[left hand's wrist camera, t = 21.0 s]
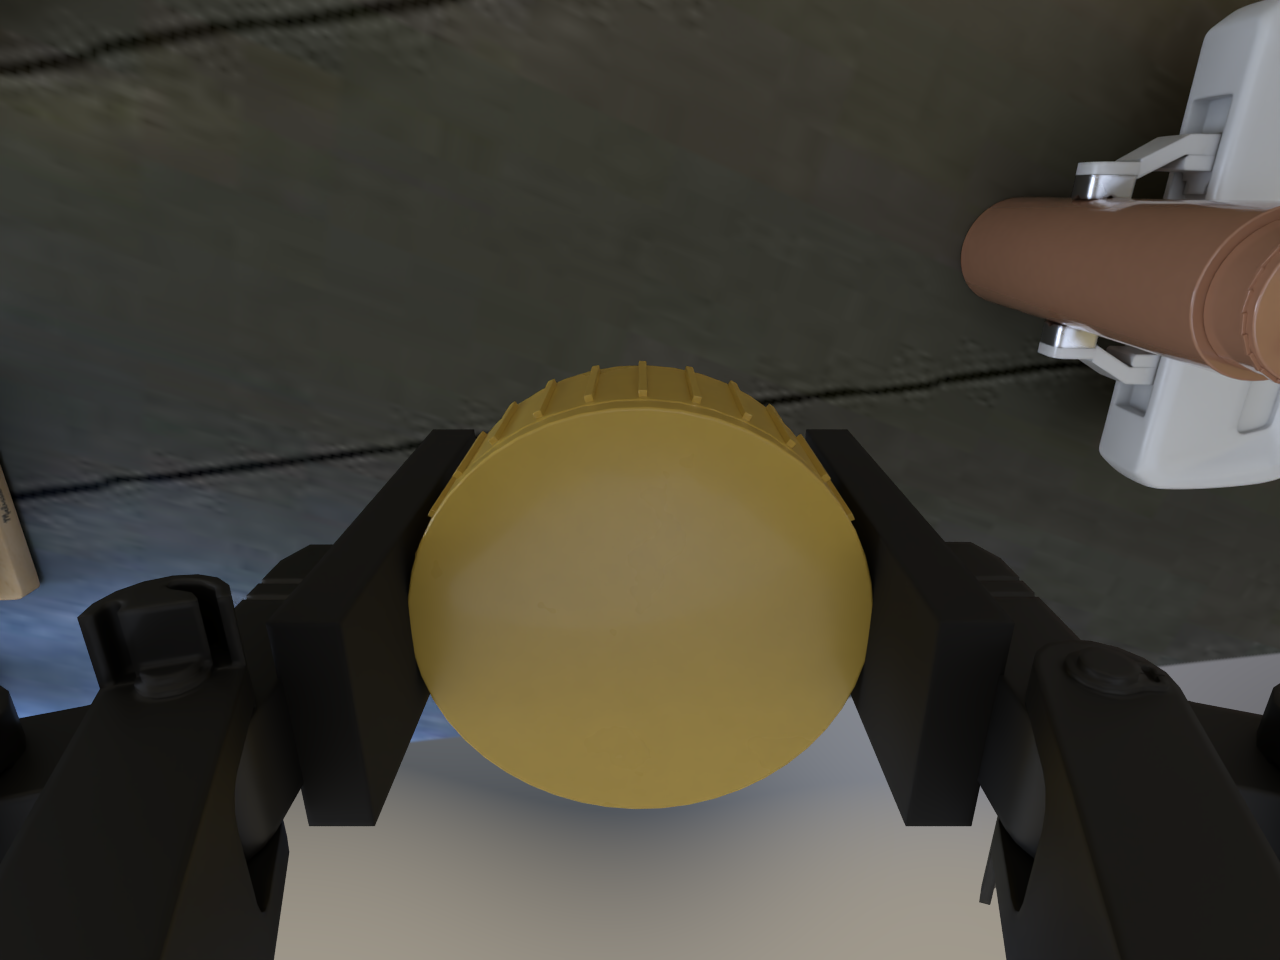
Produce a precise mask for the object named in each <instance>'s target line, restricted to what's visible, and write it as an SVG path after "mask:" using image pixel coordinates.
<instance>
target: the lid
mask: <svg viewBox="0 0 1280 960" xmlns="http://www.w3.org/2000/svg"><path fill="white" fill-rule="evenodd" d="M830 479H831V478H830V476H829V475H828V473H827V472H826V470H825V469H824V467H823V466H822V464H821V463H820V461H819V460H818V458H817V457H816V455H815V454H814V452H813V451H812V449H811V448H810V446H809V445H808V443H807V442H806V440H805V439H804V437H803V436H802V435H801V434H800V435H799V436H797V437H796V436H795V435H794V434H793V433H792V431H791V430H790V429H789V428H788V427H787V426H786V425H785V424H784V423H783V421H782V419H781V418H780V416H779V415H778V413H777V411H776V410H775V408H774V407H773V406H772V405H770V404H769V405H768V406H767V407H765V406H763V405H762V404H760V403H759V402H758V401H756V400H755V399H753V398H752V397H751V396H749V395H747V394H745V393H743V392H742V391H740V390H739V388H738V386H737V384H736V383H735V382H733V381H730V382H729V384H726V383H724V382H721V381H718V380H716V379H713V378H710V377H708V376H705V375H702V374H699V373H694V370H693V367H688V366H686V368H685V370H681V369H677V368H670V367H659V366H648V365H646V361H639V366H618V367H612V368H606V369H600V367H599V365H597V366H592V369H591V371H590V372H586V373H583V374H580V375H577V376H573V377H570V378H567V379H564V380H562V381H560V382H558V383H556V381H555V379H553V380H550V381H548V383H547V385H546V387H545V389H542V390H540V391H539V392H537V393H536V394H534V395H532V396H531V397H529V398H528V399H526V400H525V401H523V402H521V403H520V404H517V403H516V402H513V403H512V404H511V405H510V406H509V407H508V409H507V410H506V412H505V414H504V415H503V417H502V419H501V420H499V421H498V423H497V424H496V425H495V426H494V427H493V428H492V429H491V430H490V432H489V433H488V434H486V433H485V432H483V431H482V432H481V434H480V435H479V436H478V438H477V439H476V441H475V442H474V444H473V445H472V447H471V448H470V450H469V451H468V453H467V454H466V456H465V457H464V459H463V460H462V462H461V463H460V465H459V466H458V468H457V469H456V471H455V472H454V474H453V476H452V478H451V479H450V481H449V482H448V484H447V485H446V487H445V488H444V490H443V491H442V493H441V494H440V496H439V498H438V499H437V501H436V502H435V504H434V505H433V507H432V508H431V510H430V512H429V514H428V516H429V517H432V518H431V520H430V522H429V524H428V526H427V529H426V531H425V533H424V535H423V537H422V539H421V542H420V544H419V546H418V549H417V551H416V552H415V560H414V563H413V567H412V570H411V577H410V584H409V592H408V607H409V615H410V624H411V632H412V639H413V646H414V653H415V658H416V661H417V664H418V667H419V670H420V673H421V676H422V678H423V680H424V682H425V684H426V686H427V688H428V690H429V692H430V694H431V696H432V698H433V700H434V701H435V703H436V704H437V706H438V707H439V709H440V710H441V712H442V713H443V715H444V716H445V717H446V719H447V720H448V722H449V723H450V724H451V725H452V726H453V727H454V728H455V729H456V731H457V732H458V733H459V734H460V735H461V736H462V737H463V738H464V740H465V741H467V742H468V743H469V744H470V745H471V746H472V747H473V748H475V749H476V750H477V751H478V752H479V753H480V754H481V755H483V756H484V757H485V758H486V759H488V760H489V761H491V762H492V763H494V764H495V765H497V766H498V767H499V768H501V769H502V770H504V771H505V772H507V773H509V774H510V775H512V776H514V777H516V778H518V779H520V780H522V781H524V782H525V783H527V784H529V785H531V786H534V787H536V788H539V789H542V790H544V791H546V792H549V793H551V794H554V795H557V796H560V797H564V798H568V799H571V800H575V801H578V802H582V803H588V804H594V805H599V806H605V807H615V808H629V809H648V808H666V807H674V806H682V805H689V804H694V803H698V802H702V801H706V800H710V799H715V798H718V797H721V796H723V795H726V794H729V793H732V792H735V791H738V790H740V789H743V788H745V787H747V786H749V785H751V784H753V783H755V782H757V781H759V780H762V779H764V778H766V777H767V776H769V775H770V774H772V773H774V772H775V771H777V770H778V769H780V768H782V767H783V766H785V765H787V764H788V763H789V762H790V761H792V760H793V759H794V758H796V757H797V756H798V755H799V754H801V753H802V752H803V751H804V750H806V749H807V748H808V747H809V746H810V745H811V744H812V743H813V742H814V741H815V740H816V739H817V738H818V737H819V736H820V735H821V734H822V733H823V732H824V731H825V730H826V729H827V728H828V726H829V725H830V724H831V722H832V721H833V720H834V718H835V717H836V716H837V715H838V713H839V712H840V711H841V709H842V708H843V706H844V704H845V703H846V701H847V699H848V697H849V696H850V694H851V692H852V690H853V689H854V687H855V685H856V682H857V680H858V677H859V675H860V672H861V670H862V667H863V665H864V662H865V657H866V650H867V644H868V636H869V629H870V621H871V613H872V604H873V595H872V582H871V577H870V573H869V568H868V564H867V559H866V555H865V553H864V550H863V548H862V545H861V543H860V540H859V537H858V535H857V532H856V530H855V528H854V526H853V525H852V523H851V521H853V520H855V519H854V516H853V514H852V512H851V511H850V509H849V508H848V506H847V505H846V503H845V502H844V500H843V499H842V497H841V496H840V494H839V493H838V491H837V489H836V488H835V486H834V485H833V483H832V482H831V480H830Z"/></svg>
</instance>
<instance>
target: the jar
mask: <svg viewBox="0 0 1280 960" xmlns="http://www.w3.org/2000/svg"><path fill="white" fill-rule="evenodd" d="M961 268H962V273H963V276H964V279H965V281H966V283H967V284H968V286H969V287H970V289H971V290H972V291H973V292H974V293H975V294H976V295H978V296H979V297H981V298H982V299H984V300H987V301H989V302H992V303H995V304H998V305H1002V306H1005V307H1008V308H1011V309H1014V310H1017V311H1021V312H1024V313H1027V314H1030V315H1033V316H1036V317H1040V318H1043V319H1046V320H1049V321H1052V322H1055V323H1058V324H1062V325H1065V326H1068V327H1071V328H1074V329H1077V330H1081V331H1084V332H1087V333H1090V334H1093V335H1096V336H1099V337H1103V338H1106V339H1109V340H1112V341H1115V342H1118V343H1122V344H1125V345H1128V346H1131V347H1134V348H1137V349H1140V350H1144V351H1147V352H1150V353H1153V354H1156V355H1159V356H1163V357H1166V358H1169V359H1172V360H1175V361H1178V362H1182V363H1185V364H1188V365H1191V366H1194V367H1197V368H1200V369H1204V370H1207V371H1210V372H1213V373H1216V374H1219V375H1223V376H1226V377H1229V378H1232V379H1237V380H1242V381H1265V380H1270V381H1272V382H1274V383H1278V384H1280V201H1270V200H1204V199H1138V198H1102V199H1072V198H1071V197H1014V198H1009V199H1006V200H1003V201H1001V202H998V203H996V204H995V205H993V206H991V207H990V208H988V209H987V210H986V211H985V212H983V213H982V214H981V215H980V216H979V217H978V218H977V220H976V221H975V222H974V223H973V225H972V226H971V228H970V229H969V231H968V233H967V235H966V237H965V240H964V243H963V247H962V252H961Z"/></svg>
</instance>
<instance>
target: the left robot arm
mask: <svg viewBox="0 0 1280 960" xmlns="http://www.w3.org/2000/svg"><path fill="white" fill-rule="evenodd" d="M805 440H806V442H807V443H808V445H809V446H810V448H811V449H812V451H813V452H814V454H815V455H816V457H817V458H818V460H819V461H820V463H821V464H822V466H823V467H824V469H825V470H826V472H827V473H828V475H829V476H830V478H831V479H830V480H831V482H832V483H833V485H834V486H835V488H836V489H837V491H838V493H839V494H840V496H841V497H842V499H843V500H844V502H845V503H846V505H847V506H848V508H849V509H850V511H851V512H852V514H853V516H854V519H855V520H853V521H851V523H852V525H853V526H854V528H855V530H856V532H857V535H858V537H859V540H860V543H861V545H862V548H863V550H864V553H865V555H866V559H867V564H868V568H869V573H870V577H871V582H872V595H873V604H872V613H871V621H870V629H869V636H868V644H867V650H866V657H865V662H864V665H863V667H862V670H861V672H860V675H859V677H858V680H857V682H856V685H855V687H854V689H853V690H852V692H851V696H852V699H853V701H854V703H855V706H856V708H857V710H858V713H859V715H860V718H861V720H862V723H863V725H864V727H865V730H866V732H867V734H868V737H869V739H870V742H871V744H872V746H873V749H874V751H875V754H876V756H877V758H878V761H879V763H880V766H881V768H882V770H883V773H884V775H885V778H886V780H887V782H888V785H889V787H890V790H891V792H892V794H893V797H894V799H895V802H896V804H897V806H898V809H899V811H900V813H901V816H902V818H903V821H904V823H905V825H906V826H971V825H972V821H973V816H974V811H975V807H976V802H977V797H978V793H979V788H980V786H981V787H982V789H983V791H984V793H985V794H986V796H987V798H988V800H989V801H990V803H991V805H992V807H993V808H994V810H995V812H996V814H997V815H998V817H997V821H996V826H995V830H994V834H993V839H992V843H991V847H990V852H989V856H988V861H987V865H986V869H985V873H984V878H983V882H982V887H981V894H980V901H979V902H981V903H985V904H988V905H990V903H991V899H992V895H993V890H994V888H995V887H996V890H997V897H998V904H999V911H1000V918H1001V925H1002V932H1003V938H1004V946H1005V952H1006V960H1280V684H1278V685H1277V686H1275V687H1274V688H1273V690H1272V693H1271V695H1270V698H1269V701H1268V704H1267V706H1266V709H1265V711H1264V714H1263V715H1259V714H1254V713H1249V712H1243V711H1238V710H1233V709H1227V708H1222V707H1217V706H1211V705H1206V704H1201V703H1195V702H1191V701H1187V699H1186V697H1185V695H1184V694H1183V692H1182V690H1181V689H1180V687H1179V686H1178V685H1177V684H1176V683H1175V682H1174V681H1173V679H1172V678H1171V677H1170V676H1169V675H1168V674H1167V673H1166V672H1165V671H1163V670H1162V669H1160V668H1159V667H1157V666H1155V665H1154V664H1152V663H1151V662H1149V661H1148V660H1146V659H1144V658H1142V657H1140V656H1137V655H1135V654H1133V653H1130V652H1128V651H1125V650H1123V649H1120V648H1118V647H1114V646H1110V645H1106V644H1102V643H1097V642H1093V641H1085V640H1080V639H1079V638H1078V637H1077V636H1076V635H1075V634H1074V633H1073V632H1072V631H1071V630H1070V629H1069V628H1068V627H1067V626H1066V625H1065V623H1064V622H1063V621H1062V620H1061V619H1060V618H1059V617H1058V616H1057V615H1056V614H1055V613H1054V612H1053V611H1052V610H1051V609H1050V608H1049V607H1048V606H1047V605H1046V604H1045V603H1044V602H1043V601H1042V600H1041V599H1040V598H1039V597H1035V596H1034V592H1033V591H1032V590H1031V589H1030V588H1029V587H1028V586H1027V585H1026V584H1025V583H1024V582H1023V581H1019V577H1018V576H1017V575H1016V574H1015V573H1014V572H1013V570H1012V569H1011V568H1010V567H1009V566H1008V565H1007V564H1006V563H1005V562H1004V561H1003V560H1002V559H1001V558H999V557H997V556H995V555H994V554H992V553H990V552H988V551H986V550H984V549H983V548H981V547H979V546H977V545H975V544H973V543H971V542H944V540H943V539H942V538H941V537H940V536H939V535H938V533H937V532H936V531H935V530H934V529H933V528H932V527H931V525H930V524H929V523H928V522H927V521H926V520H925V519H924V517H923V516H922V515H921V514H920V513H919V512H918V510H917V509H916V508H915V507H914V506H913V505H912V504H911V502H910V501H909V500H908V499H907V498H906V497H905V495H904V494H903V493H902V492H901V491H900V490H899V489H898V487H897V486H896V485H895V484H894V483H893V482H892V480H891V479H890V478H889V477H888V476H887V475H886V474H885V472H884V471H883V470H882V469H881V468H880V467H879V466H878V464H877V463H876V462H875V461H874V460H873V459H872V457H871V456H870V455H869V454H868V453H867V452H866V451H865V449H864V448H863V447H862V446H861V445H860V444H859V442H858V441H857V440H856V439H855V438H854V437H853V436H852V434H851V433H850V432H849V431H848V430H806V439H805ZM474 442H475V433H474V430H432V431H431V433H430V434H429V435H428V436H427V437H426V438H425V440H424V441H423V442H422V443H421V444H420V445H419V446H418V448H417V449H416V450H415V451H414V452H413V453H412V455H411V456H410V457H409V458H408V459H407V460H406V461H405V463H404V464H403V465H402V466H401V467H400V468H399V470H398V471H397V472H396V473H395V474H394V475H393V476H392V478H391V479H390V480H389V481H388V482H387V483H386V485H385V486H384V487H383V488H382V489H381V490H380V491H379V493H378V494H377V495H376V496H375V497H374V498H373V499H372V501H371V502H370V503H369V504H368V505H367V506H366V508H365V509H364V510H363V511H362V512H361V513H360V514H359V516H358V517H357V518H356V519H355V520H354V521H353V523H352V524H351V525H350V526H349V527H348V528H347V529H346V531H345V532H344V533H343V534H342V535H341V536H340V538H339V539H338V540H337V541H336V542H335V543H334V544H333V545H309V546H307V547H305V548H303V549H301V550H299V551H298V552H296V553H294V554H292V555H290V556H288V557H287V558H285V559H283V560H281V561H280V562H279V563H278V564H277V565H276V566H275V567H274V568H273V569H272V570H271V571H270V572H269V573H268V574H267V575H266V576H265V577H264V578H263V579H262V584H258V585H257V586H256V587H255V588H254V589H253V590H252V591H251V592H250V593H249V594H248V595H247V599H246V600H242V601H241V602H240V603H239V604H238V605H237V606H236V607H235V608H234V604H233V600H232V596H231V591H230V587H229V585H228V584H227V583H225V582H224V581H222V580H221V579H219V578H217V577H211V576H205V575H199V574H195V575H176V576H169V577H164V578H159V579H154V580H149V581H144V582H141V583H138V584H135V585H133V586H130V587H127V588H124V589H121V590H118V591H116V592H114V593H112V594H110V595H108V596H106V597H104V598H102V599H101V600H99V601H97V602H95V603H93V604H92V605H91V606H90V607H88V608H87V609H86V610H85V611H84V612H83V613H82V614H81V615H80V616H79V617H77V618H78V622H79V625H80V628H81V631H82V634H83V637H84V640H85V643H86V646H87V650H88V653H89V656H90V659H91V662H92V665H93V668H94V671H95V674H96V678H97V681H98V684H99V687H100V690H99V692H98V693H97V695H96V697H95V699H94V700H93V702H92V704H91V705H87V706H83V707H77V708H72V709H67V710H61V711H56V712H51V713H45V714H40V715H35V716H29V717H24V718H19V717H18V715H17V712H16V710H15V707H14V704H13V702H12V699H11V696H10V694H9V691H8V690H6V689H5V688H3V687H1V686H0V960H274V955H275V948H276V941H277V934H278V927H279V920H280V913H281V906H282V899H283V892H284V885H285V878H286V871H287V864H288V857H289V847H288V840H287V834H286V830H285V826H284V821H283V819H284V817H285V815H286V813H287V812H288V810H289V808H290V806H291V804H292V803H293V801H294V799H295V797H296V796H297V794H298V792H299V790H300V789H301V791H302V795H303V800H304V805H305V809H306V814H307V819H308V823H309V826H375V824H376V822H377V819H378V817H379V815H380V812H381V810H382V807H383V805H384V803H385V800H386V798H387V795H388V793H389V791H390V788H391V786H392V783H393V781H394V779H395V776H396V774H397V772H398V769H399V767H400V764H401V762H402V760H403V757H404V755H405V752H406V750H407V748H408V745H409V743H410V740H411V738H412V736H413V733H414V731H415V728H416V726H417V724H418V721H419V719H420V716H421V714H422V712H423V709H424V707H425V704H426V702H427V700H428V697H429V695H430V692H429V690H428V688H427V686H426V684H425V682H424V680H423V678H422V676H421V673H420V670H419V667H418V664H417V661H416V658H415V653H414V646H413V639H412V632H411V624H410V615H409V607H408V592H409V584H410V577H411V570H412V567H413V563H414V560H415V552H416V551H417V549H418V546H419V544H420V542H421V539H422V537H423V535H424V533H425V531H426V529H427V526H428V524H429V522H430V520H431V518H432V517H429V516H428V514H429V512H430V510H431V508H432V507H433V505H434V504H435V502H436V501H437V499H438V498H439V496H440V494H441V493H442V491H443V490H444V488H445V487H446V485H447V484H448V482H449V481H450V479H451V478H452V476H453V474H454V472H455V471H456V469H457V468H458V466H459V465H460V463H461V462H462V460H463V459H464V457H465V456H466V454H467V453H468V451H469V450H470V448H471V447H472V445H473V444H474Z"/></svg>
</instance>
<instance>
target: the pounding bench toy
mask: <svg viewBox="0 0 1280 960" xmlns="http://www.w3.org/2000/svg"><path fill="white" fill-rule="evenodd" d="M39 586H40V582H39V579H38V576H37V572H36V569H35V567H34V564H33V561H32V558H31V555H30V552H29V549H28V546H27V543H26V540H25V537H24V534H23V531H22V528H21V525H20V522H19V519H18V516H17V513H16V510H15V507H14V504H13V501H12V498H11V495H10V492H9V489H8V486H7V483H6V480H5V477H4V474H3V471H2V468H1V465H0V600H16V599H21V598H23V597H24V596H26V595H27V594H29V593H30V592H32V591H34V590H35V589H37V588H38V587H39Z"/></svg>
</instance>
